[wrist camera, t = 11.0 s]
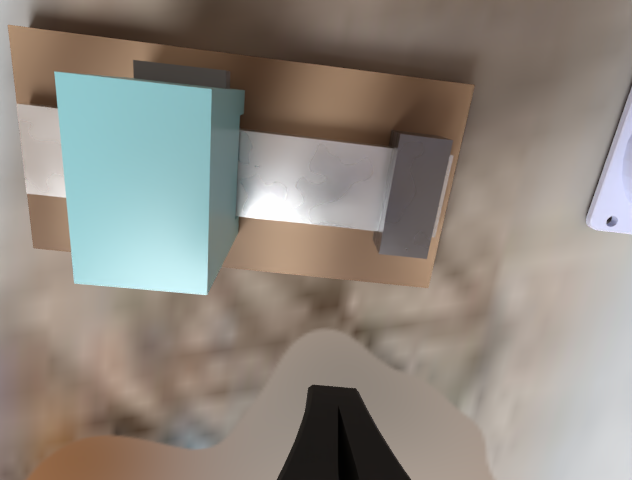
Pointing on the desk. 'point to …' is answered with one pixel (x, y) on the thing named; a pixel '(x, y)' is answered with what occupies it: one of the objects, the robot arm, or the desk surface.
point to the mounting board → (273, 116)
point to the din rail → (301, 179)
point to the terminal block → (150, 175)
